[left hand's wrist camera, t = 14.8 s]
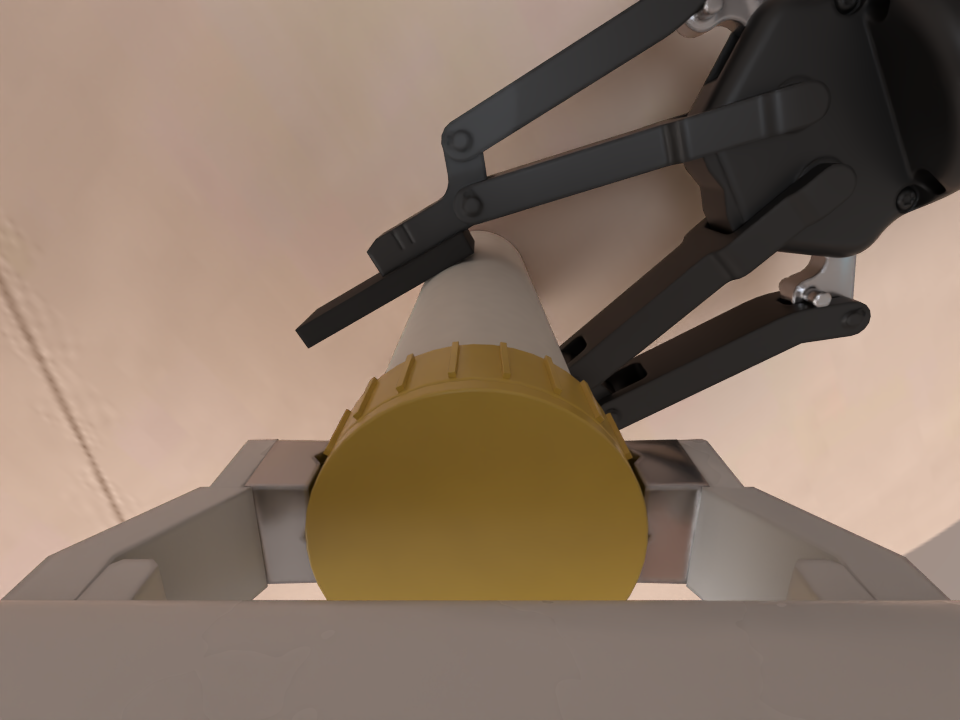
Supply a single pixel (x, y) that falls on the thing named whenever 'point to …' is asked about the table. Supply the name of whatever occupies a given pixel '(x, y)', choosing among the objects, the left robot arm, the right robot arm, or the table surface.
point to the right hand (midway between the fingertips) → (355, 385)
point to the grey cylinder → (480, 306)
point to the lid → (476, 486)
